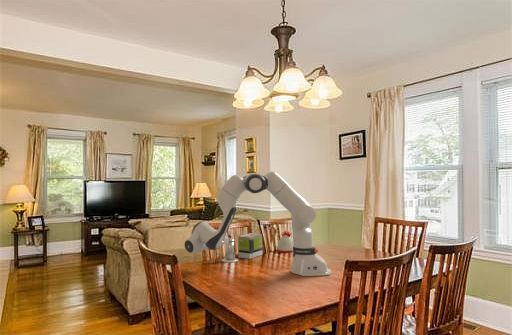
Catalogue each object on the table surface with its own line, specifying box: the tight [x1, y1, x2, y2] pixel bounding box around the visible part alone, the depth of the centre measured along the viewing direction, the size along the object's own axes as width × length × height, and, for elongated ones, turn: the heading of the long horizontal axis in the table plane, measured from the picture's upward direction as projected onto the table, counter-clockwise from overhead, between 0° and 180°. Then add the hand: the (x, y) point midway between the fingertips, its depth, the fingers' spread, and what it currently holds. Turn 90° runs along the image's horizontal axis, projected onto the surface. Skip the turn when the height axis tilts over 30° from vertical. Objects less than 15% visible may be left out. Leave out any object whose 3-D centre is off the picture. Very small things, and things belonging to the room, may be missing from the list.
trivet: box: [221, 257, 239, 264], centre depth 223 cm, size 11×11×1 cm
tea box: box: [237, 232, 263, 260], centre depth 237 cm, size 15×10×15 cm
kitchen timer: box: [276, 230, 294, 254], centre depth 254 cm, size 14×14×15 cm
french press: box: [225, 234, 236, 261], centre depth 225 cm, size 8×6×16 cm
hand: (219, 237), depth 214 cm, fingers open, 8 cm apart
